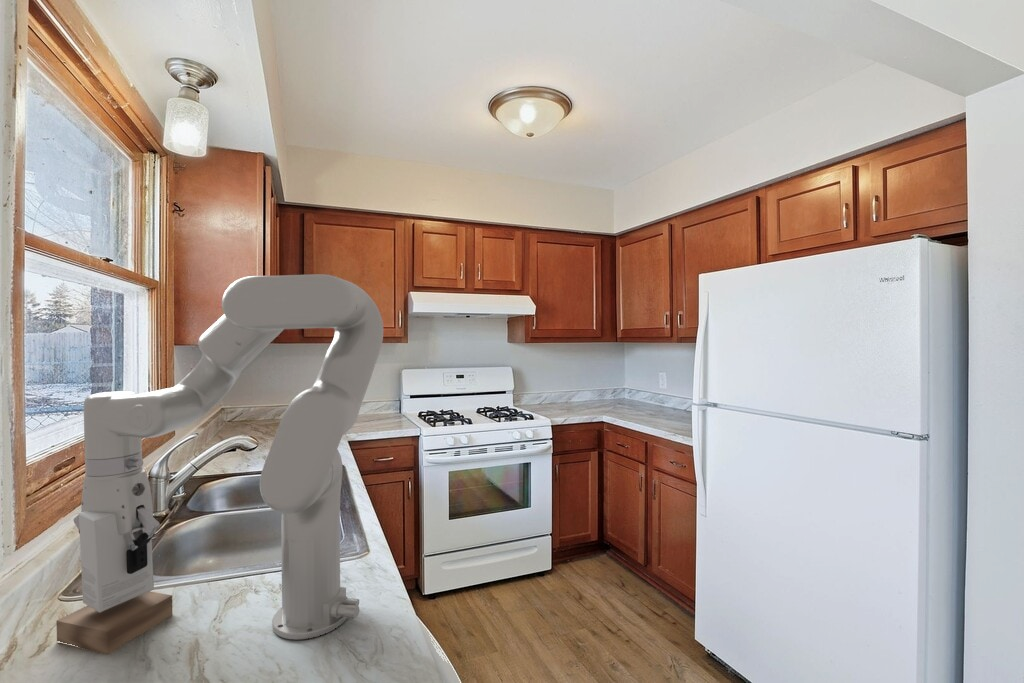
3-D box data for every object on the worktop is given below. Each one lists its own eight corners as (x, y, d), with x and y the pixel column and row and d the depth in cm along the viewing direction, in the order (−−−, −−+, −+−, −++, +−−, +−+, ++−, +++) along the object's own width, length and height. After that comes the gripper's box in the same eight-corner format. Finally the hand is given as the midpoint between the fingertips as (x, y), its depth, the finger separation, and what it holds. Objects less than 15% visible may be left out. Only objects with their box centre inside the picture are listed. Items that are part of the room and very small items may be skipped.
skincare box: (137, 581, 89) (135, 496, 89) (156, 590, 86) (154, 502, 86) (79, 604, 82) (76, 511, 82) (97, 615, 79) (94, 518, 78)
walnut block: (172, 617, 88) (172, 595, 88) (107, 656, 77) (107, 631, 77) (125, 608, 91) (125, 586, 91) (56, 645, 80) (56, 620, 80)
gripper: (177, 461, 85) (179, 562, 86) (95, 457, 89) (98, 553, 89) (136, 473, 78) (139, 583, 79) (48, 468, 82) (52, 573, 82)
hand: (117, 567), depth 84 cm, fingers closed on skincare box, 7 cm apart
